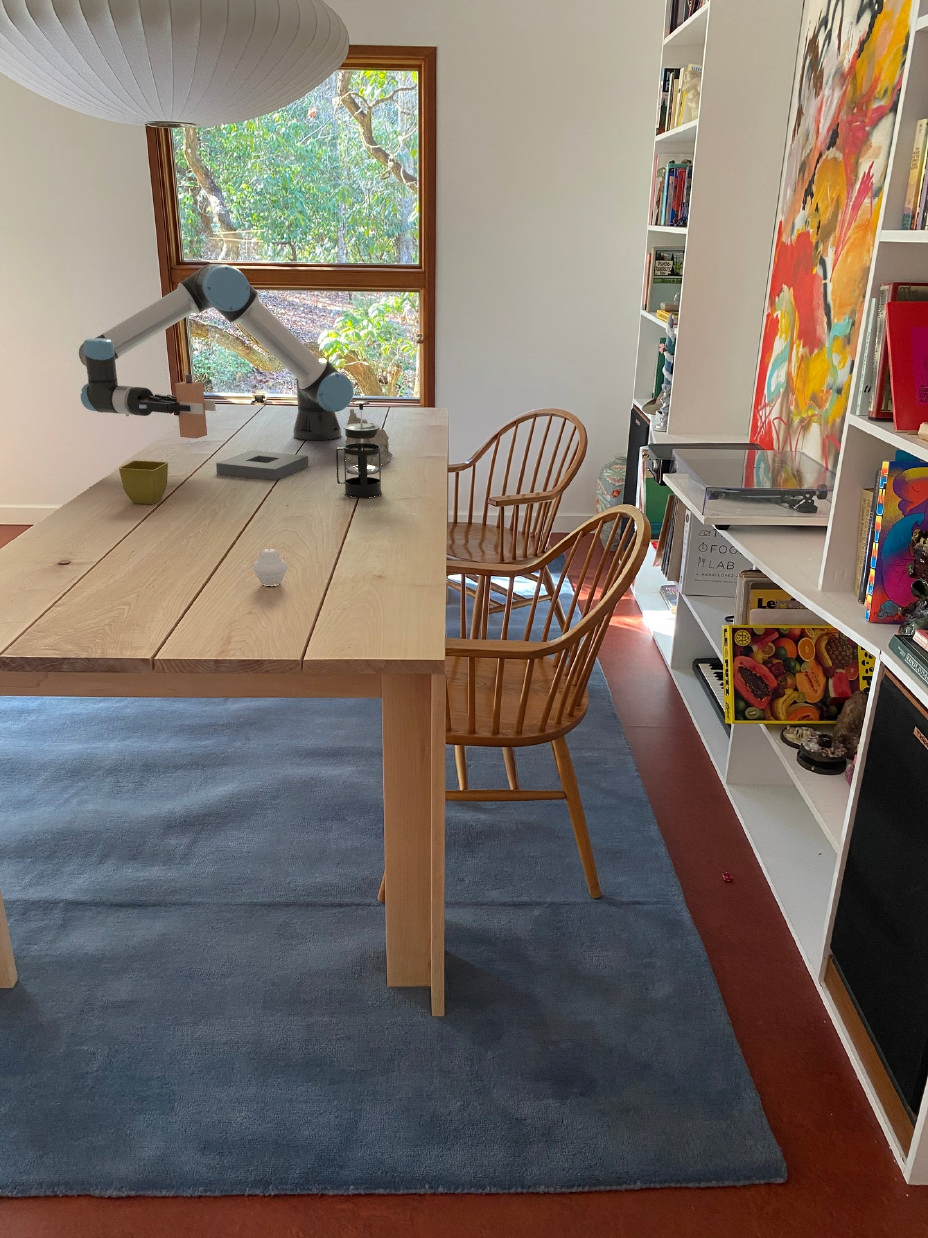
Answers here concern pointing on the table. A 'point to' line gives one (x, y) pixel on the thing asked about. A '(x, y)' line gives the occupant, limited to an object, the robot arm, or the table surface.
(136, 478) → the flower pot
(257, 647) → the table surface
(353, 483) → the french press
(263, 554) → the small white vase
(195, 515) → the table surface
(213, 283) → the robot arm
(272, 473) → the socket
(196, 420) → the plug
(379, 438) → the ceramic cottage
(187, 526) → the table surface
